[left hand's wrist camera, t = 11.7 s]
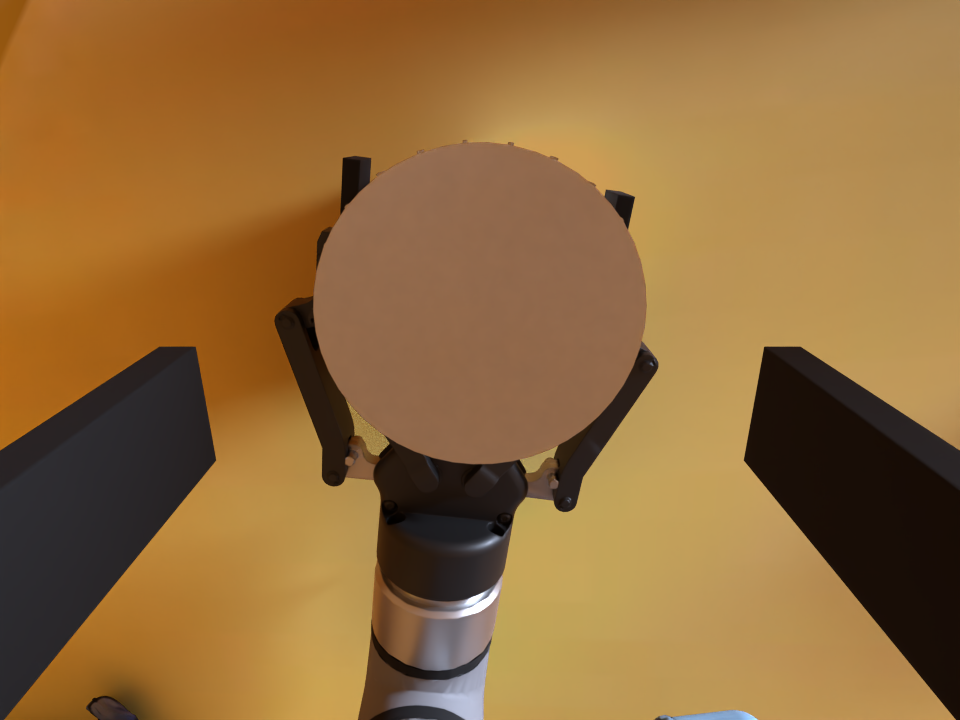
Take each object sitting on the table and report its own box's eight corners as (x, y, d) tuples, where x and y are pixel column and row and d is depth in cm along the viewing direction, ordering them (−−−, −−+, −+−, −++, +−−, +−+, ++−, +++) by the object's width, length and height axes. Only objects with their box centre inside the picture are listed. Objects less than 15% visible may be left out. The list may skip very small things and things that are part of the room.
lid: (555, 75, 18) (563, 68, 16) (678, 365, 21) (696, 385, 20) (264, 237, 20) (244, 247, 18) (421, 482, 23) (416, 510, 21)
